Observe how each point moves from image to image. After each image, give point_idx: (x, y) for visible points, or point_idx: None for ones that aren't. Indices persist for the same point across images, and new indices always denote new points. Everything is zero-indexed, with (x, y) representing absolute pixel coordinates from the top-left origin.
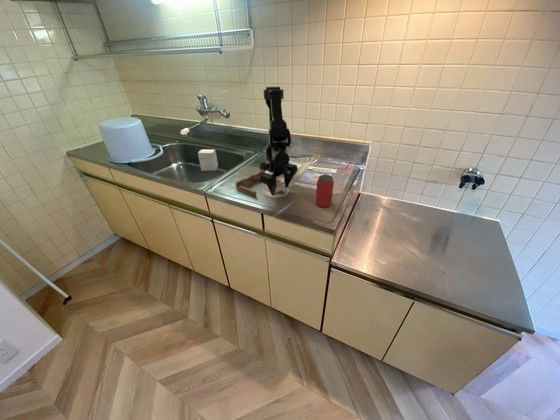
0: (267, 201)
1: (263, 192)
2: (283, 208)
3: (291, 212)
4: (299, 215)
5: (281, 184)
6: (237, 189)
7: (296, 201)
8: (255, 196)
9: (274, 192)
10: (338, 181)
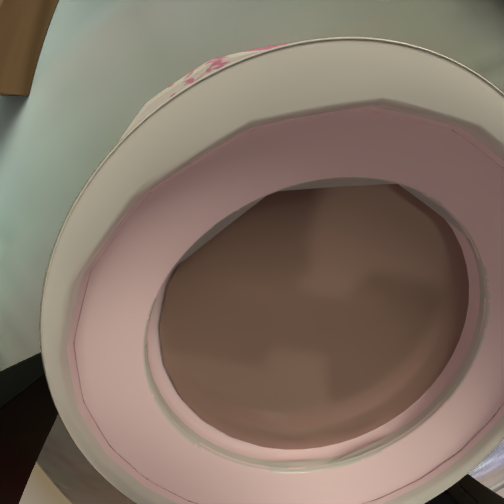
0: (19, 291)
1: (151, 110)
2: (50, 439)
3: (60, 474)
4: (74, 498)
5: (317, 460)
6: None
7: None
8: (7, 95)
9: (43, 426)
10: (497, 477)
